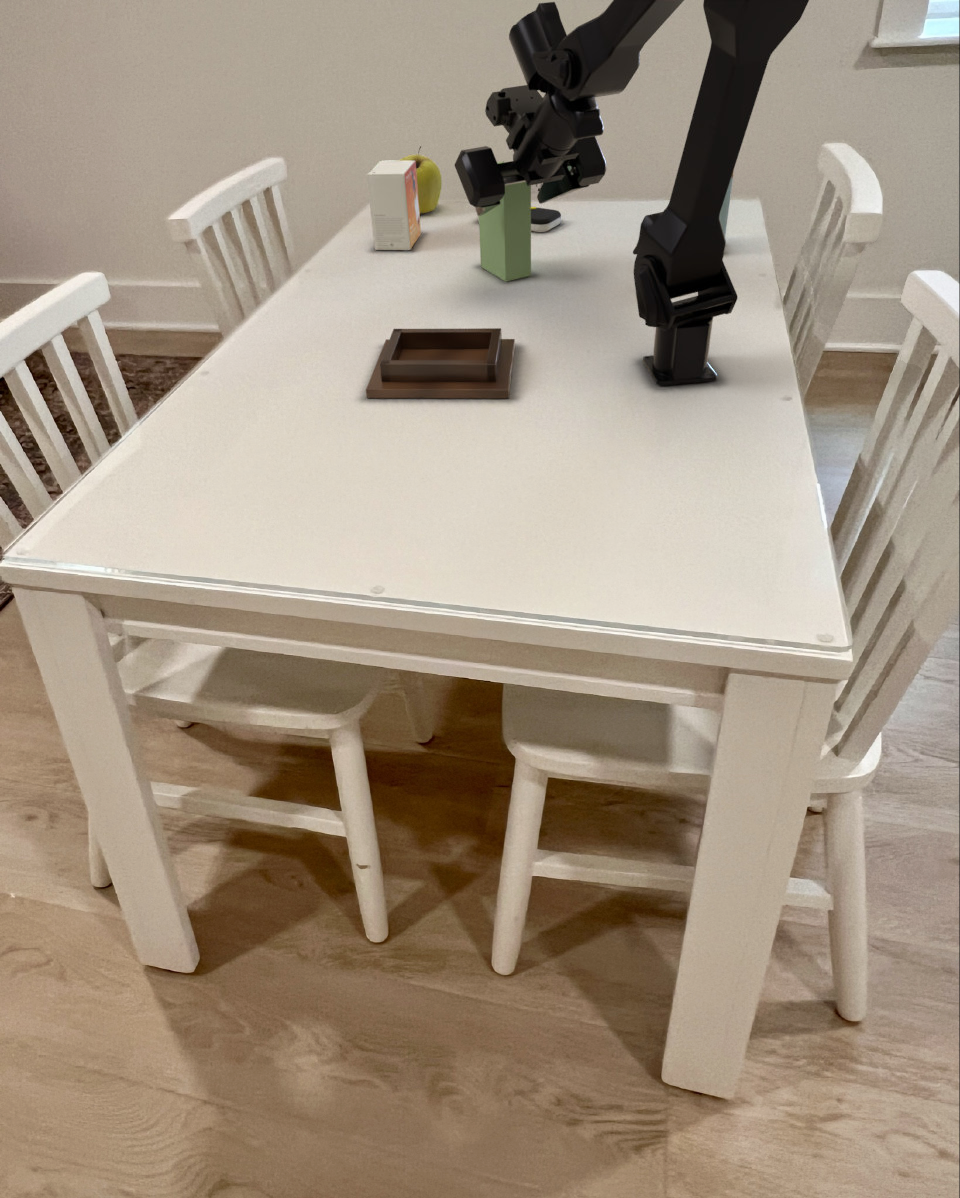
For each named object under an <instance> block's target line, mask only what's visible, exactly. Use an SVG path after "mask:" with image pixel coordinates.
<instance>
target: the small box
mask: <svg viewBox="0 0 960 1198" xmlns="http://www.w3.org/2000/svg"><path fill="white" fill-rule="evenodd" d="M365 176H366V183H367V184H366V185H367V192H368V203H369V210H370V220H371V229H372V236H373V237H372V238H373V245H374V250H375V251H411V250H412V248H413V246H414V245H415V244H416V242H417V240H418V239H419V238H420V237H421V235H422V228H421V215H420V214H421V213H419V200H418V186H417V173H416V161H412V160H400V159H399V160H398V159H397V160H395V159H394V160H379V161H378V163H376V165H375V166H374V167H373V168H372V169H371V170H370V171H369V172H368V173H366V175H365Z"/></svg>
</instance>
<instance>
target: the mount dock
mask: <svg viewBox="0 0 960 1198" xmlns="http://www.w3.org/2000/svg"><path fill="white" fill-rule="evenodd" d="M502 334H503V333H502V327H501V328H499V327H497V328H495V327H494V328H493V327H492V328H491V327H490V328H485V327H483V328H393V329H392V332H391V335H390V337H389V338H387V339H385V341H384V344H383V346H382V348H381V351H380V354H379V356H378V359H377V361H376V363H375V366H374V369H373V371H372V374H371V375H370V378H369V381H368V383H367V386H366V388H365V394H366V398H367V399H510V398H509V397H510V390H511V382H512V374H513V367H514V359H515V358H514V357H515V350H516V339H515V338H502Z"/></svg>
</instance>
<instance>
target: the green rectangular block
mask: <svg viewBox="0 0 960 1198" xmlns="http://www.w3.org/2000/svg"><path fill="white" fill-rule="evenodd" d="M505 162H506V161H497V164H499V163H505ZM531 207H532V185H530V186H527V183H526V182H521V183H516V184H511V185H506V186H505V195H504V196H503V198H502V199H501V200H500V205H498V206H496V207H495V208H493V209H492V210H490V211H488V212H487V213H485V214H483V215H481V216H479V221H478V223H479V224H478V225H479V226H478V227H479V255H480V268H482V269H484V270H485V271H487V272H488V273H490V274H492V275H493V276H495V277H497V278H498V279H501V280H502V281H504V282H510V281H513V280H518V279H524V278H528V277H531V276H532V231H531Z"/></svg>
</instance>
